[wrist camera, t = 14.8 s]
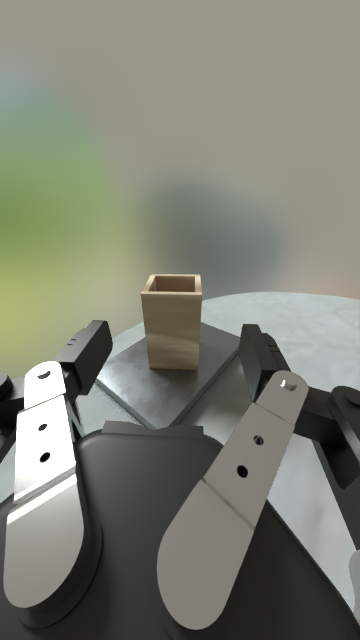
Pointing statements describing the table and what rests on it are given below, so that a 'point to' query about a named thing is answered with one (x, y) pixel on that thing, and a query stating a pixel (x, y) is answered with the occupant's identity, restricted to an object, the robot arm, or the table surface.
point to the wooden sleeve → (172, 320)
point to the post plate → (166, 379)
